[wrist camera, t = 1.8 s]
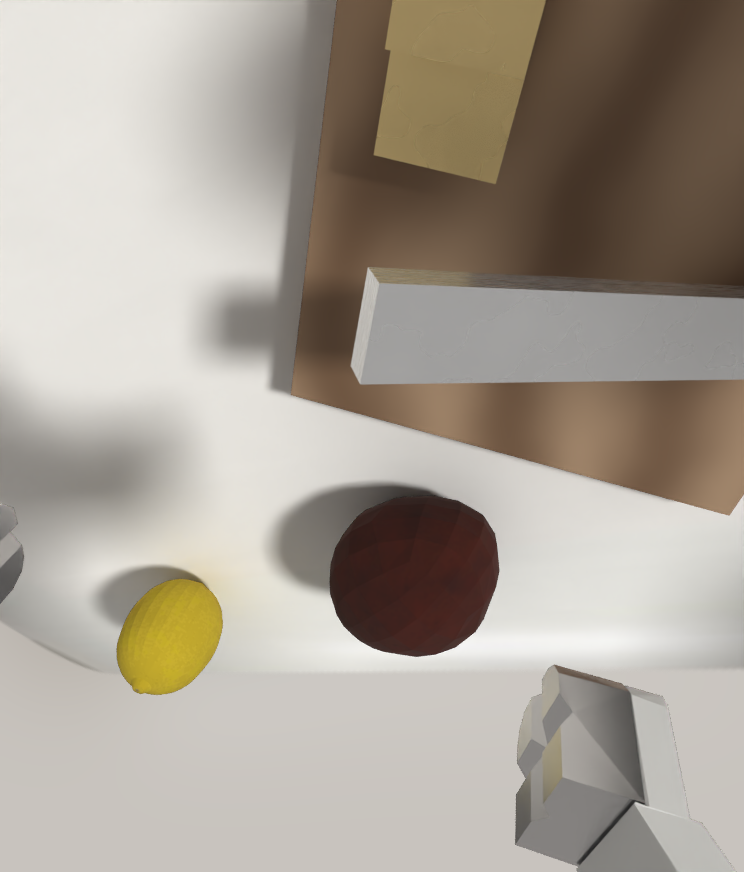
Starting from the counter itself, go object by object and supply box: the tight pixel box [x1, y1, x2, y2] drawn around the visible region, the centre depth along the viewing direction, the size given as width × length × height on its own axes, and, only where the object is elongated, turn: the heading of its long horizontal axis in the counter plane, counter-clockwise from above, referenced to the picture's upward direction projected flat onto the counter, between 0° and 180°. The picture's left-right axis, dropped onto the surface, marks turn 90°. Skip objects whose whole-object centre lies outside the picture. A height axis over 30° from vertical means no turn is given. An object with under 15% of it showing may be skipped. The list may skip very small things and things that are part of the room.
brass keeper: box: [374, 0, 546, 184], centre depth 19 cm, size 4×6×3 cm, turn 170°
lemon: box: [117, 579, 223, 695], centre depth 39 cm, size 6×6×8 cm
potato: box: [330, 496, 499, 657], centre depth 32 cm, size 8×9×8 cm
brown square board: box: [291, 0, 744, 515], centre depth 24 cm, size 20×18×2 cm
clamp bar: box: [351, 267, 744, 384], centre depth 20 cm, size 16×3×1 cm, turn 80°
